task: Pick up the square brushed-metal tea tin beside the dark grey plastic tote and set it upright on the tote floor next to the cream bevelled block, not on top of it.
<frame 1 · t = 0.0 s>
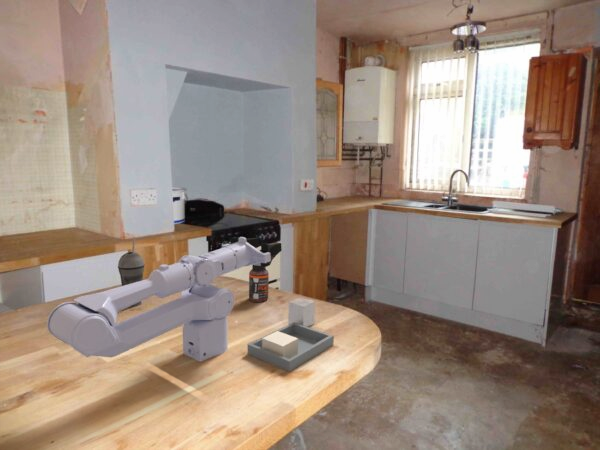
hand: (268, 244, 107), 22 cm above the countertop, tool horizontal, fingers open, 7 cm apart
cream bevelled block: (280, 355, 93), point 1 cm above the countertop, touching tote
beverage cup: (133, 304, 125), on the countertop
tin: (301, 327, 110), on the countertop
supplement bottle: (258, 299, 130), on the countertop
tote: (291, 352, 96), on the countertop
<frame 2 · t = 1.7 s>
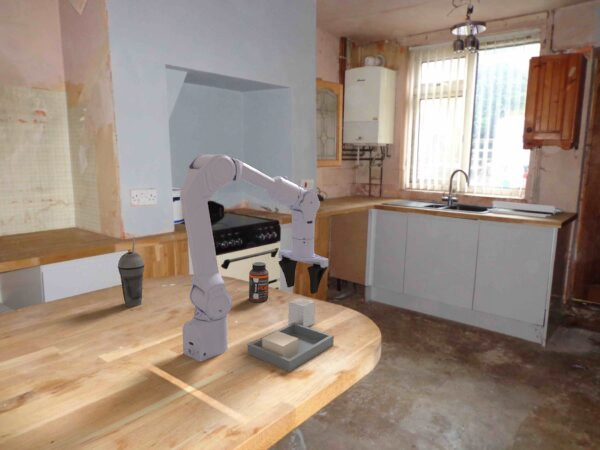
hand: (302, 289, 108), 10 cm above the countertop, tool pointing down, fingers open, 7 cm apart
nothing on the countertop moved.
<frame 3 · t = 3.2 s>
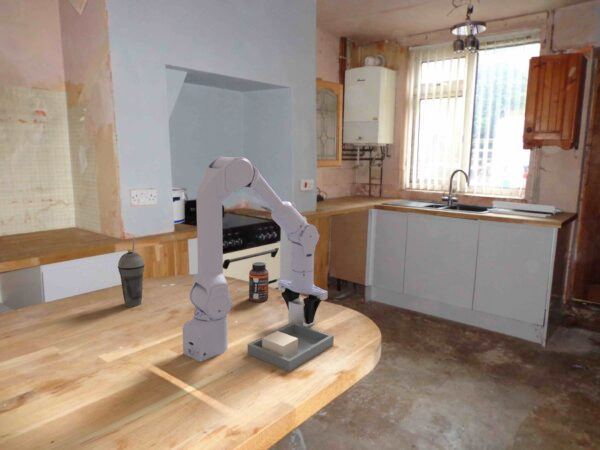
hand: (301, 320, 110), 2 cm above the countertop, tool pointing down, fingers closed on tin, 5 cm apart
tin: (301, 327, 110), on the countertop, touching gripper
everything else where it was.
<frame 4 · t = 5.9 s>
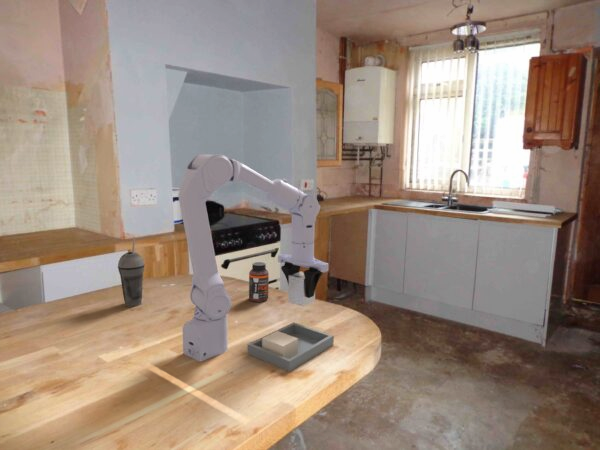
hand: (301, 294, 107), 9 cm above the countertop, tool pointing down, fingers closed on tin, 5 cm apart
tin: (301, 301, 108), point 7 cm above the countertop, touching gripper
everything else where it was.
when the fingers open (4 cm above the countertop, at t = 8.5 s): tin drops 1 cm, resting on tote.
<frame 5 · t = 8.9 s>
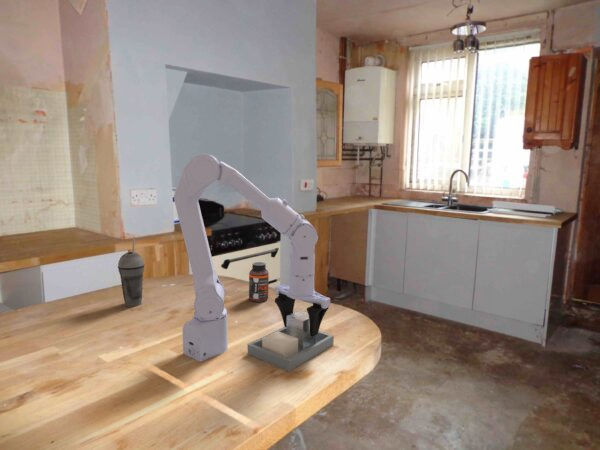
hand: (300, 330, 98), 4 cm above the countertop, tool pointing down, fingers open, 7 cm apart
tin: (300, 344, 99), point 1 cm above the countertop, touching tote
everything else where it was.
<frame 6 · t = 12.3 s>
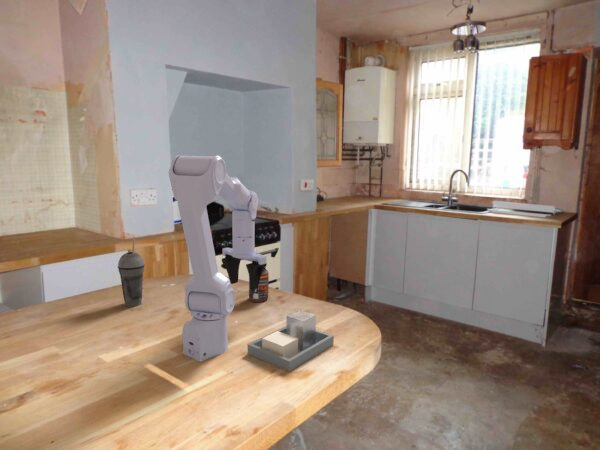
hand: (243, 285, 113), 9 cm above the countertop, tool pointing down, fingers open, 7 cm apart
nothing on the countertop moved.
at the end: tin inside the target area on the tote (3.3 cm from its centre), point 0.8 cm above the tote's base; tin tilted 0°; cream bevelled block moved 0.0 cm from its start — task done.
